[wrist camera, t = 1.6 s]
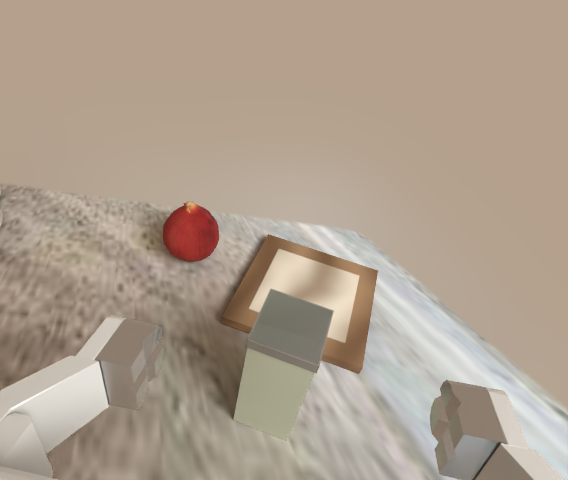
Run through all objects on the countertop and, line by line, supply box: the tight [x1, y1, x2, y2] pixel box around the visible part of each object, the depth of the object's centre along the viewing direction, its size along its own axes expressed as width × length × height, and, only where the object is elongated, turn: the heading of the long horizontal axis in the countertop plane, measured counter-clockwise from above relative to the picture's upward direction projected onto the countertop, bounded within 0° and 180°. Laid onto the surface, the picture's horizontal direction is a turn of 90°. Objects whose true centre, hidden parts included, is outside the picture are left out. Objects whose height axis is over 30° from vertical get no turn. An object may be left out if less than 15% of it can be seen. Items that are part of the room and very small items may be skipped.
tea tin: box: [233, 289, 334, 441], centre depth 29 cm, size 5×5×11 cm
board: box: [221, 234, 378, 374], centre depth 42 cm, size 14×14×1 cm
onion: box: [163, 202, 219, 262], centre depth 41 cm, size 6×6×8 cm
